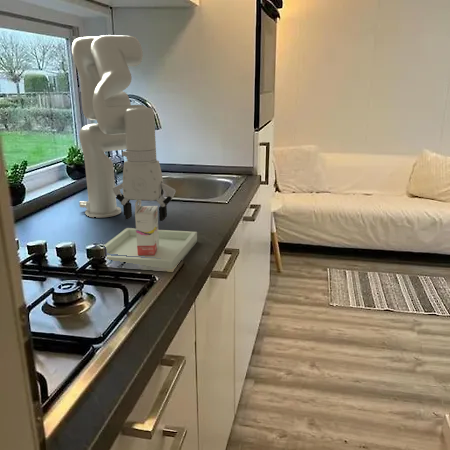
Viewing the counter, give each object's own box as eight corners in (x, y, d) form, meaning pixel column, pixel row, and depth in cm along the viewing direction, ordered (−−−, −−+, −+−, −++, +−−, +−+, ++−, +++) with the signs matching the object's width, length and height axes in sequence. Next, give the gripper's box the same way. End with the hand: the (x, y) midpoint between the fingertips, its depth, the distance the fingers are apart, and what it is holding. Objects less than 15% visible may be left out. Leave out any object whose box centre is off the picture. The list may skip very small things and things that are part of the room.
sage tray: (91, 266, 123) (89, 255, 123) (127, 237, 146) (126, 228, 145) (172, 272, 119) (172, 261, 118) (197, 241, 142) (196, 231, 141)
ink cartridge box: (155, 255, 128) (152, 202, 124) (137, 255, 128) (133, 202, 124) (160, 245, 137) (157, 194, 132) (142, 245, 137) (139, 194, 132)
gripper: (104, 157, 123) (109, 221, 128) (169, 159, 119) (172, 224, 124) (116, 153, 130) (121, 213, 135) (177, 154, 126) (180, 216, 132)
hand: (145, 219), depth 130 cm, fingers open, 9 cm apart
